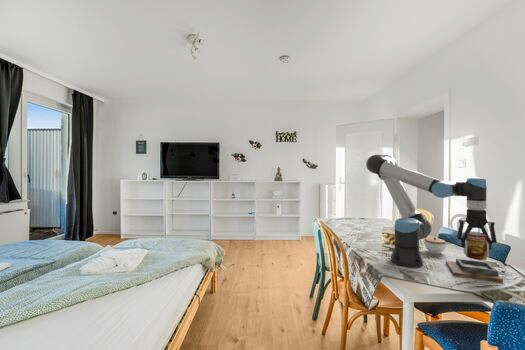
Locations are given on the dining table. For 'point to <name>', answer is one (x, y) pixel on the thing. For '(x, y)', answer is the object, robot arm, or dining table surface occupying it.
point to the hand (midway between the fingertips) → (476, 255)
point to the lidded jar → (435, 245)
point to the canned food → (476, 246)
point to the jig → (474, 270)
